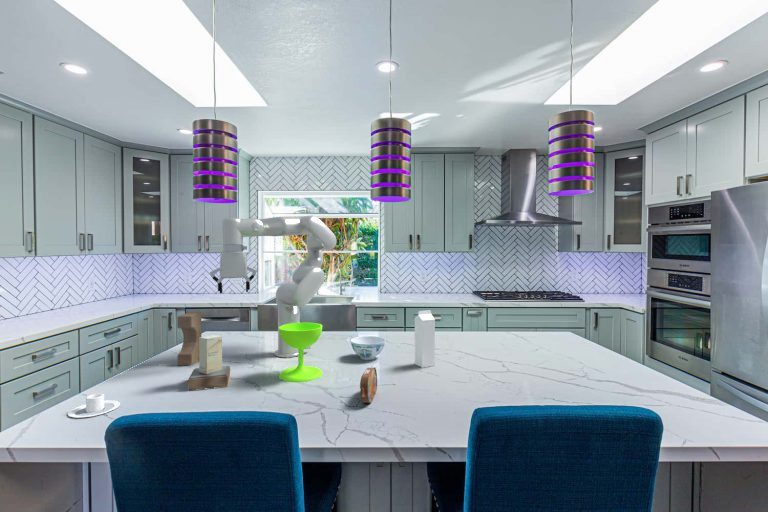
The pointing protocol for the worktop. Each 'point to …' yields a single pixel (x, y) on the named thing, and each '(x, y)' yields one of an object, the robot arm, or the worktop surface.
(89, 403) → the candle holder
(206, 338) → the skincare box
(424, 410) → the worktop surface
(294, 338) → the wineglass
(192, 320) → the decorative block
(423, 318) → the milk
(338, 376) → the worktop surface
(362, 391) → the tin
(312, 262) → the robot arm
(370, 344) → the chinaware
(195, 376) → the plinth
